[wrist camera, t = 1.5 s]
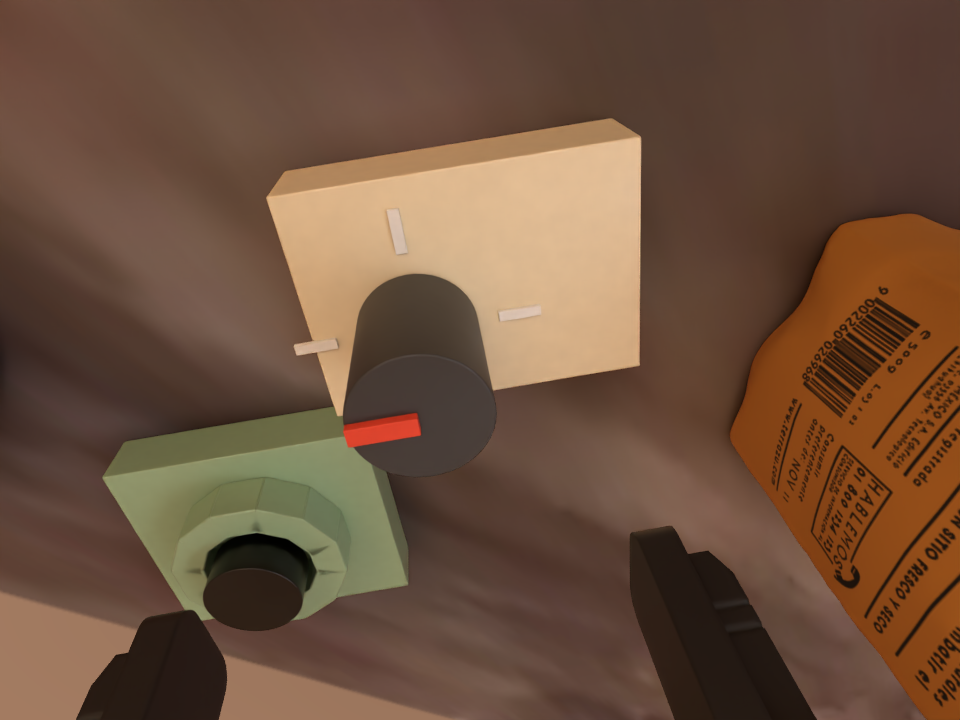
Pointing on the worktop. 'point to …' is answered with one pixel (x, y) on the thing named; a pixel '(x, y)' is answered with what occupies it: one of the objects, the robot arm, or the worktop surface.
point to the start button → (256, 582)
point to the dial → (418, 379)
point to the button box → (263, 503)
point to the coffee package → (873, 441)
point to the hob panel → (479, 246)
